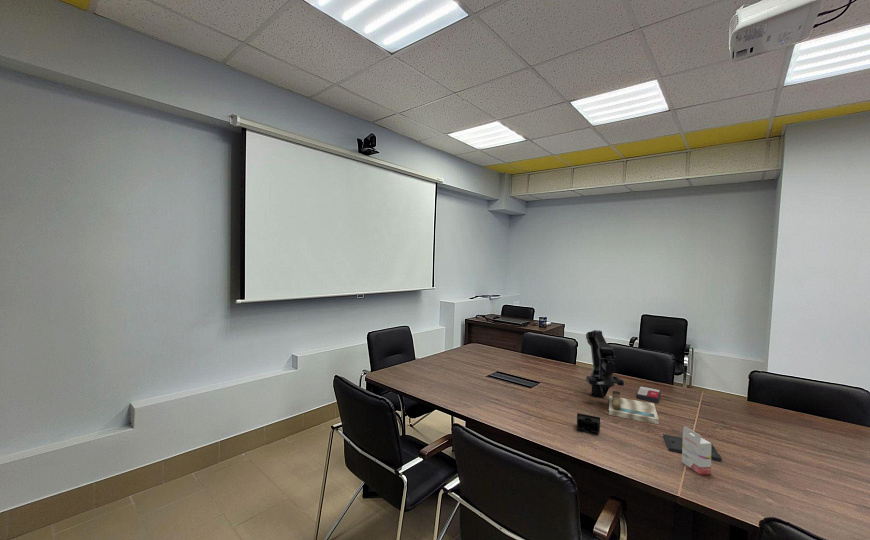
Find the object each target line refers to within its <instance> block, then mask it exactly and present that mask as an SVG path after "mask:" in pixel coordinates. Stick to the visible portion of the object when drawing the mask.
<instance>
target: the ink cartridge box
mask: <svg viewBox="0 0 870 540" xmlns="http://www.w3.org/2000/svg"><path fill="white" fill-rule="evenodd" d="M682 438H683V444H682V453H681V462H682V464H684V465H686V466H687V467H688V468H690V469H691V470H692V471H694V472H695V473H697V474H698V475H712V474H711V473H712V460H711V444H713V443H712V442H710V441H708V440H706V439H705V438H702V436H701V434H700V433H697V432H695V431H694V430H692V429H691V428H689V427H687V426H686V425H684V426H683V431H682Z"/></svg>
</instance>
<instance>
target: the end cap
mask: <svg viewBox="0 0 870 540" xmlns="http://www.w3.org/2000/svg"><path fill="white" fill-rule="evenodd" d="M576 426H577V431H578V432H581V433H585V434H588V435H589V434H590V435H594V436H599V434H600V433H599V432H600V431H601V417H600V416H595V415H592V414H591V415H590V414H585V413H579V412H578V413H577V414H576Z"/></svg>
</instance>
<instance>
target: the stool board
mask: <svg viewBox="0 0 870 540" xmlns="http://www.w3.org/2000/svg"><path fill="white" fill-rule="evenodd" d="M608 400H609V401H608V415H609V416H614V417H617V418H623V419H628V420H633V421H639V422H643V423H644V422H645V423H649V424H655V425H660V423H659V422H660V419H659V416H658V412H657V410H656V406H655V403H654V402H649V401H643V400H637V399H629V398H623V397H620V400H621V401H620V410H617V409H614V408H613V398H612V395H609V398H608Z"/></svg>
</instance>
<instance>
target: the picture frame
mask: <svg viewBox="0 0 870 540" xmlns="http://www.w3.org/2000/svg"><path fill="white" fill-rule="evenodd" d="M662 438H663V440H664V442H665V445H666V448H667V450H668V452H672V453H673V452H674V453H678V454H682V444H683V437H681V436H674V435H669V434H664V433H663V434H662ZM715 460H716V462H720V461H721V462H723V461H722V460H723V459H722V456H720V454H719V453H718V451H717V450H716V447H715V446H714V445H713V443H712V444H711V461H715ZM721 462H720V463H721Z"/></svg>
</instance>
